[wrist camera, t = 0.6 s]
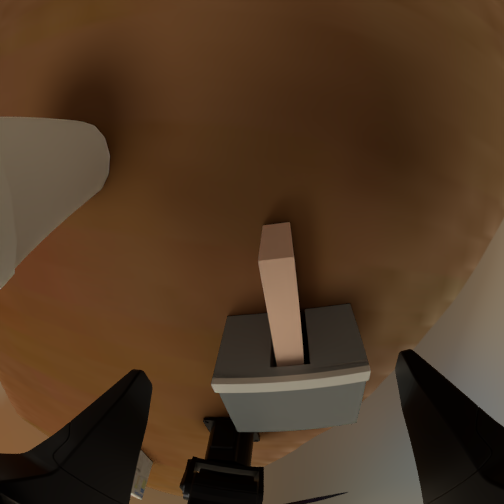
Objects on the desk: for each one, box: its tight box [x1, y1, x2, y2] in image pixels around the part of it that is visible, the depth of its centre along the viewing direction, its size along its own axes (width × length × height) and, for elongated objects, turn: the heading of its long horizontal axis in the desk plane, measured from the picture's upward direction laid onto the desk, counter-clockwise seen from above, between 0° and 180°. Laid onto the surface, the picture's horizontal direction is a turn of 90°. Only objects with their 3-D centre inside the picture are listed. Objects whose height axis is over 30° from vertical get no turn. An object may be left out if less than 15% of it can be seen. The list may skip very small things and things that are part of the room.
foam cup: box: [0, 117, 110, 289], centre depth 12 cm, size 10×9×13 cm
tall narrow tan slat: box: [258, 222, 304, 367], centre depth 18 cm, size 10×2×5 cm, turn 10°
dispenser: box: [211, 304, 371, 432], centre depth 20 cm, size 8×10×7 cm
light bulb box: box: [131, 450, 153, 500], centre depth 38 cm, size 11×7×11 cm, turn 3°
